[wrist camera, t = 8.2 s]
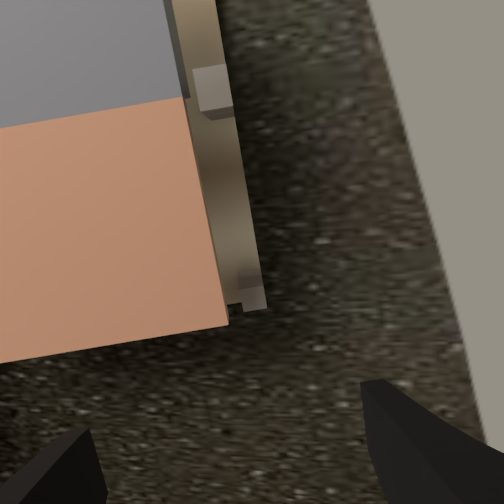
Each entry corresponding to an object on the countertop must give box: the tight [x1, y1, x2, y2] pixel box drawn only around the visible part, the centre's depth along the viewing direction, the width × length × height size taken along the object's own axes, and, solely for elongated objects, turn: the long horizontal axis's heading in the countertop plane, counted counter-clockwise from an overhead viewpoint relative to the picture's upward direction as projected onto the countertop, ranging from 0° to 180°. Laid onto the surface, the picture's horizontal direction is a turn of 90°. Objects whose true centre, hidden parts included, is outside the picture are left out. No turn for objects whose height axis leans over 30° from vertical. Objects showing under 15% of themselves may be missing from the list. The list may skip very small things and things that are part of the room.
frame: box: [172, 0, 267, 312], centre depth 17 cm, size 15×15×6 cm
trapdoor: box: [0, 0, 229, 363], centre depth 16 cm, size 13×12×3 cm
